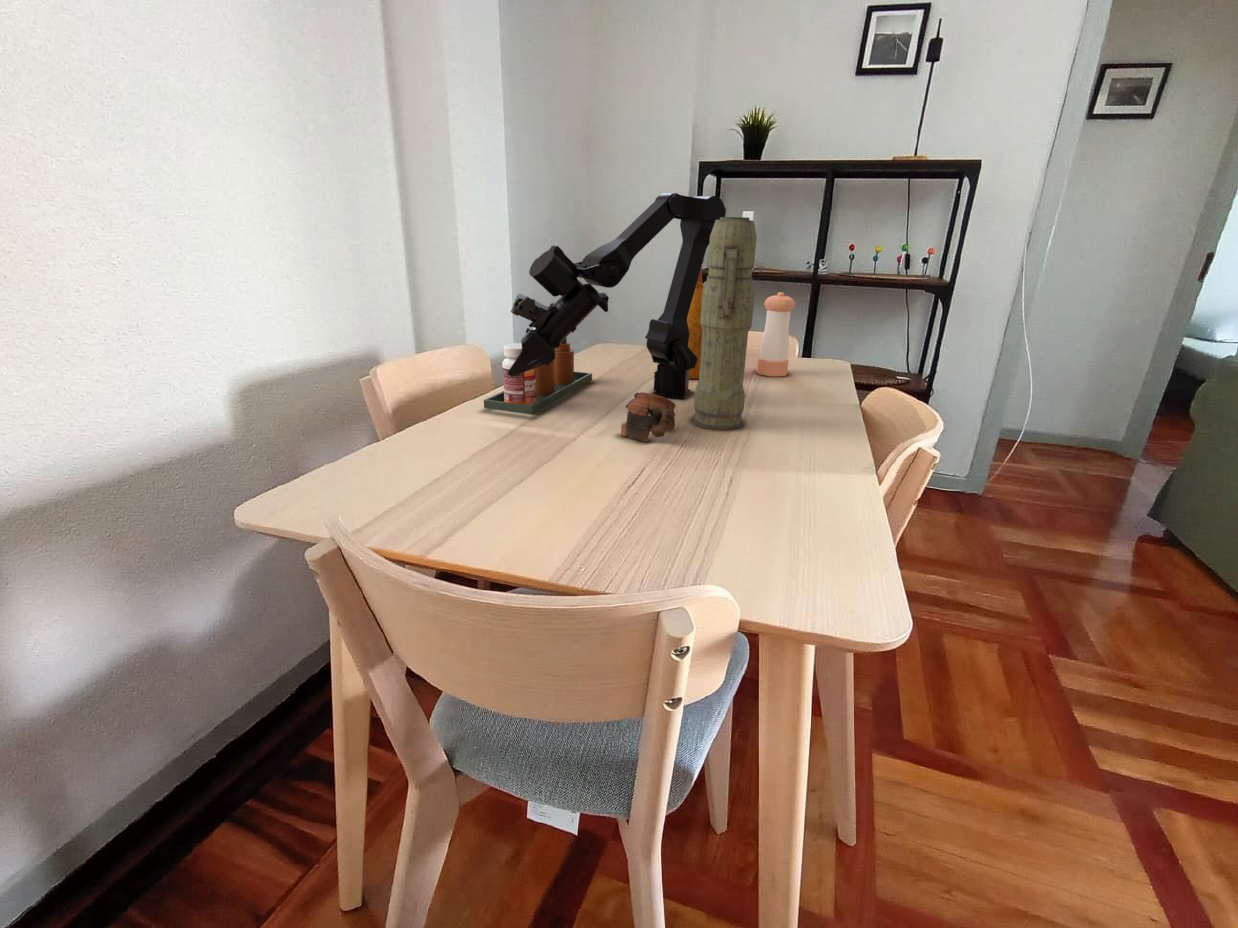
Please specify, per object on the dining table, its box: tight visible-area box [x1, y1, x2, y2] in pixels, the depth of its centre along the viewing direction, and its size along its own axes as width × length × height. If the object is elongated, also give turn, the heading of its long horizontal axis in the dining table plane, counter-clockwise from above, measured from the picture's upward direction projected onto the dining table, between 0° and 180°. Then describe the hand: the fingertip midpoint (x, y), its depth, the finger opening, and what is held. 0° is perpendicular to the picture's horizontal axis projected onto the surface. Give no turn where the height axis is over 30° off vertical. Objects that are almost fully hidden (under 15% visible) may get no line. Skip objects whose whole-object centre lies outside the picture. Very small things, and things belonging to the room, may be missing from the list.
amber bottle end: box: [554, 336, 575, 385], centre depth 132 cm, size 5×5×11 cm
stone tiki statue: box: [693, 216, 758, 431], centre depth 106 cm, size 9×12×35 cm
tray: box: [483, 370, 593, 416], centre depth 125 cm, size 10×28×2 cm, turn 159°
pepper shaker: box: [756, 291, 796, 377], centre depth 146 cm, size 7×7×19 cm
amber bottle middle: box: [535, 360, 555, 396], centre depth 123 cm, size 5×5×11 cm
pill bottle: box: [501, 342, 537, 405], centre depth 115 cm, size 6×6×11 cm
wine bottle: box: [687, 258, 705, 380], centre depth 140 cm, size 10×10×30 cm
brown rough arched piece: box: [620, 391, 677, 443], centre depth 104 cm, size 12×10×8 cm
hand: (511, 370), depth 115 cm, fingers open, 6 cm apart
